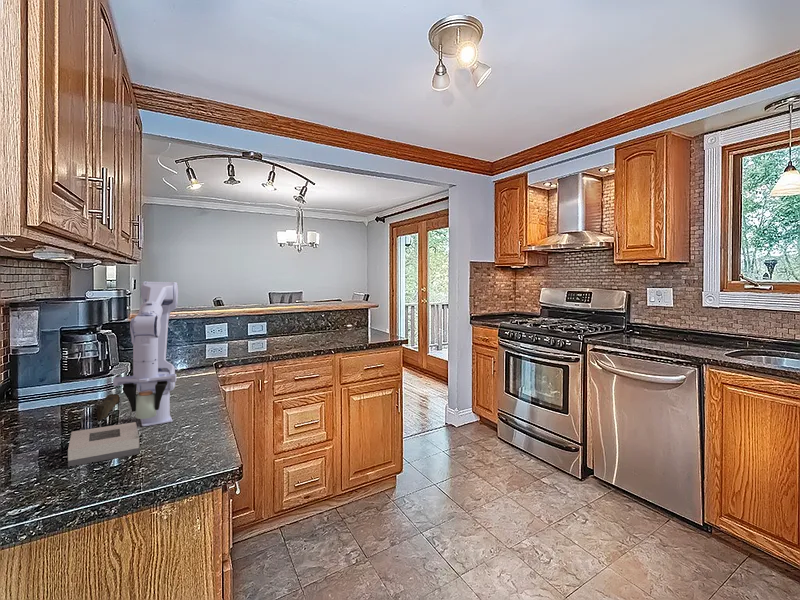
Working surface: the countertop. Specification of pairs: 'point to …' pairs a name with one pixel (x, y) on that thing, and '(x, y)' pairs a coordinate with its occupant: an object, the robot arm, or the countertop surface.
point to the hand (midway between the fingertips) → (145, 409)
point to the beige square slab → (103, 444)
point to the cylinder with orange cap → (145, 404)
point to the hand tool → (107, 405)
